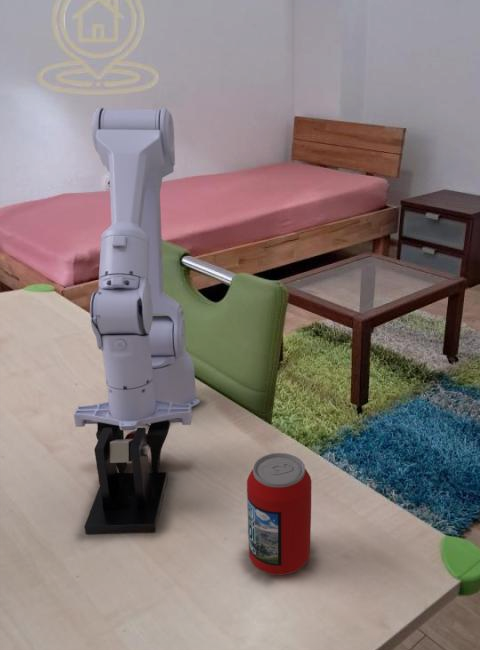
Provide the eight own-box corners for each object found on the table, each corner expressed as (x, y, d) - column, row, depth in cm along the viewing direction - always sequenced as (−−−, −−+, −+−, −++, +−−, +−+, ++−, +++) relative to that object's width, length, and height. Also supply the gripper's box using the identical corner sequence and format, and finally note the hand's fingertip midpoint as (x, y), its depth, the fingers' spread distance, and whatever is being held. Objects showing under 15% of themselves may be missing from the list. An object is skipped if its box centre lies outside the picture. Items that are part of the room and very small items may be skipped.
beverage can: (240, 545, 72) (237, 457, 67) (295, 529, 74) (296, 443, 69) (261, 588, 66) (259, 495, 61) (320, 569, 68) (322, 478, 63)
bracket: (105, 480, 82) (96, 415, 78) (167, 479, 82) (161, 414, 78) (85, 534, 73) (73, 464, 69) (155, 532, 73) (148, 462, 69)
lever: (126, 454, 84) (126, 429, 85) (152, 454, 84) (152, 428, 85) (104, 467, 73) (104, 437, 73) (134, 466, 73) (134, 437, 73)
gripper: (61, 395, 75) (76, 488, 80) (184, 393, 76) (191, 485, 81) (77, 368, 81) (90, 456, 87) (190, 366, 82) (196, 454, 88)
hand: (140, 468), depth 84 cm, fingers open, 4 cm apart
